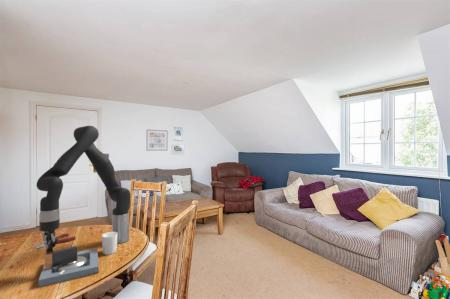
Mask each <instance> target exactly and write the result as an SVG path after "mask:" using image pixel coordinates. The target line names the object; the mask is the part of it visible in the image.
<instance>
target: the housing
mask: <svg viewBox="0 0 450 299" xmlns="http://www.w3.org/2000/svg"><path fill="white" fill-rule="evenodd" d="M98 253H99V252H98V248H93V249H87V250H81V251H77V256H83V257H86V266H84V267H79V268H75V269H70V270H62V271H61V272H57V267H54V268H50V269H47V270H45V263H44V265H43V267H42V270H41V273H40V275H39V278H38V283H37V284H38V285H37V286H38V288H42V287H46V286H50V285H54V284H55V285H56V284H59V283H62V282H67V281H70V280H74V279H79V278H80V279H81V278H82V277H83V278H84V277H87V276H88V277H89V276H92V275H95V274H99V272H100V270H99V268H100V267H99V254H98Z"/></svg>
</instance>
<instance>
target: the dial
mask: <svg viewBox="0 0 450 299" xmlns="http://www.w3.org/2000/svg"><path fill="white" fill-rule="evenodd" d="M77 252H78V246H77V245H74V246H69V247H65V248H61V249H58V250H53V251H52V252H48V253H46V252H45V253H44V264H45V270H47V269H50V268H54V267H57V272H61V271H62V270H70V269H75V268H79V267H84V266H86V257H83V256H77Z"/></svg>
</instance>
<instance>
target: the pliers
mask: <svg viewBox="0 0 450 299" xmlns="http://www.w3.org/2000/svg"><path fill="white" fill-rule="evenodd" d="M55 238H57V242H56V245H58V244H59V245H60V244H65V243H69V242H73V241H76V239H77V237H76V236H71V237H69V234H68V233H63V234H61V235H58V236H57V235H56V236H55ZM41 248H46V247H45V245H44V242H43V243H40V244H37V245H35V246H33V247H32V249H34V250H36V249H41Z"/></svg>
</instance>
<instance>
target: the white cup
mask: <svg viewBox="0 0 450 299" xmlns="http://www.w3.org/2000/svg"><path fill="white" fill-rule="evenodd" d="M117 235H118V233H117V232H112V231H108V232H104V233H103V234H102V235H101V244H102V246H101V247H102V254H103V255H106V256H108V255H113V254H115V253H116V252H117V247H118V243H117Z"/></svg>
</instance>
